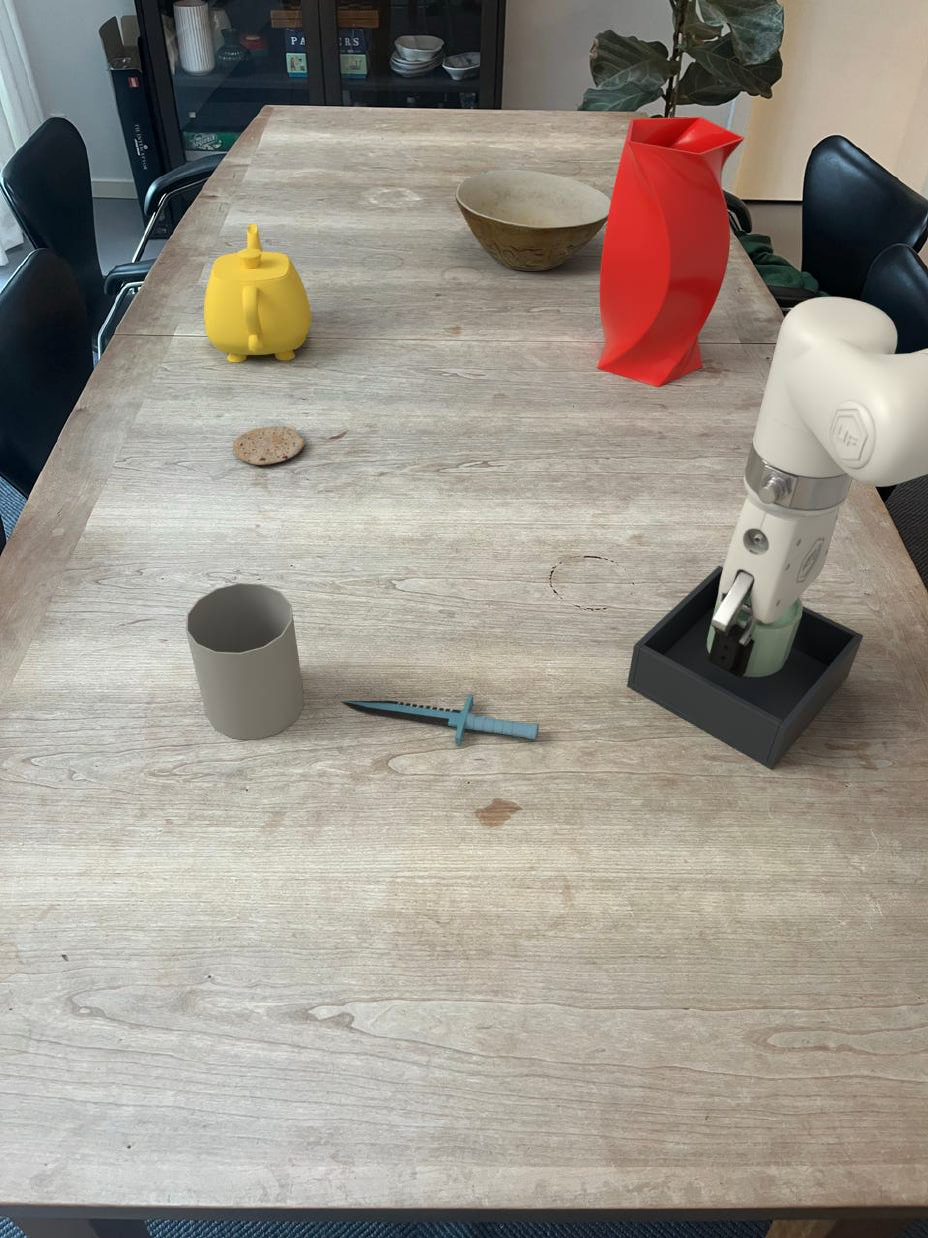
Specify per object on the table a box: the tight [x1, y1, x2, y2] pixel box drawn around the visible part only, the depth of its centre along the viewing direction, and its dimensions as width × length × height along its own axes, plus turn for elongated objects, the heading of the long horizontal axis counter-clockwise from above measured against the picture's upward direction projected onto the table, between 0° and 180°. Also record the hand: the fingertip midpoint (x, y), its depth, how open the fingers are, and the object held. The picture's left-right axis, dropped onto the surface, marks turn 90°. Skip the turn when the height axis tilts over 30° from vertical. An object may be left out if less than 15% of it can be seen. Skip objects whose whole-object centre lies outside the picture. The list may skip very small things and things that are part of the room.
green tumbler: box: [707, 593, 804, 677], centre depth 84 cm, size 7×7×6 cm
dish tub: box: [626, 565, 864, 770], centre depth 87 cm, size 14×14×5 cm
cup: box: [185, 582, 305, 741], centre depth 83 cm, size 8×8×10 cm
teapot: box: [203, 223, 312, 363], centre depth 130 cm, size 14×20×13 cm
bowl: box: [454, 168, 611, 272], centre depth 152 cm, size 24×24×10 cm
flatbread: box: [232, 426, 306, 466], centre depth 115 cm, size 8×8×1 cm
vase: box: [596, 116, 746, 388], centre depth 123 cm, size 15×14×28 cm
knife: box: [340, 693, 540, 746], centre depth 85 cm, size 17×1×5 cm
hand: (748, 643), depth 86 cm, fingers closed on green tumbler, 6 cm apart
